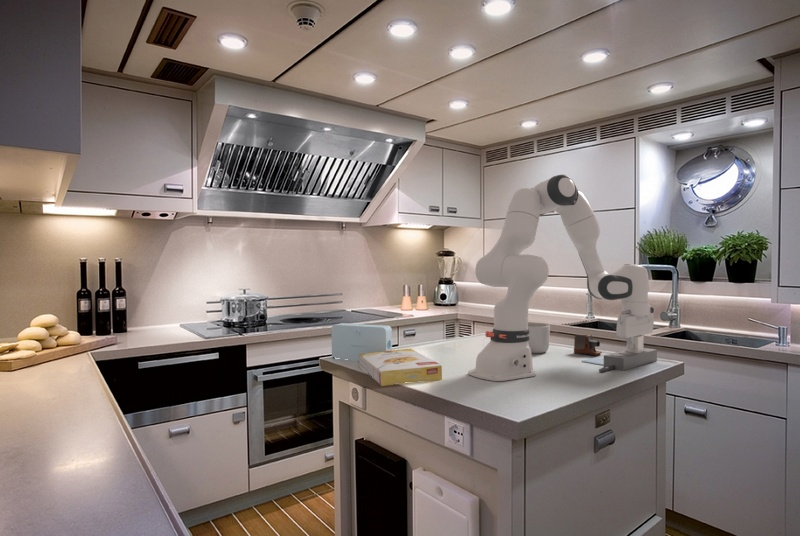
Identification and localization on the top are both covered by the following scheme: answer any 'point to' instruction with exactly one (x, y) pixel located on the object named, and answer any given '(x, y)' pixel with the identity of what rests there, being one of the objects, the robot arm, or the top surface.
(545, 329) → the planter
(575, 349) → the electronic device
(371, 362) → the cereal box
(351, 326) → the light blue box
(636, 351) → the block
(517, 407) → the top surface
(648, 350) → the power strip
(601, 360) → the mat
